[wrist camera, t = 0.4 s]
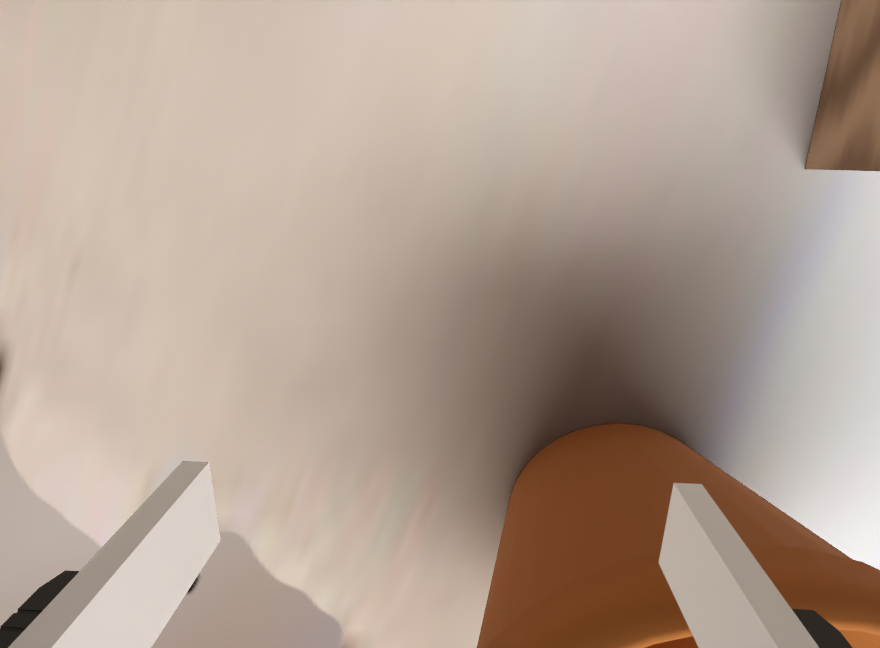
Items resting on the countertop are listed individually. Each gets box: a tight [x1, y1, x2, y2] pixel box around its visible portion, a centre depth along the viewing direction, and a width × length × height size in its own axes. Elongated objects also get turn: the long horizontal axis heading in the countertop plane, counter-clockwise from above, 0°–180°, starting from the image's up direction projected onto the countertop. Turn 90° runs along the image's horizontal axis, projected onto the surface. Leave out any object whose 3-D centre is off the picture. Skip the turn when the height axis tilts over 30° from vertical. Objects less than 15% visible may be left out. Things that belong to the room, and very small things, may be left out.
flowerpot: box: [477, 423, 880, 648], centre depth 35 cm, size 28×28×24 cm
